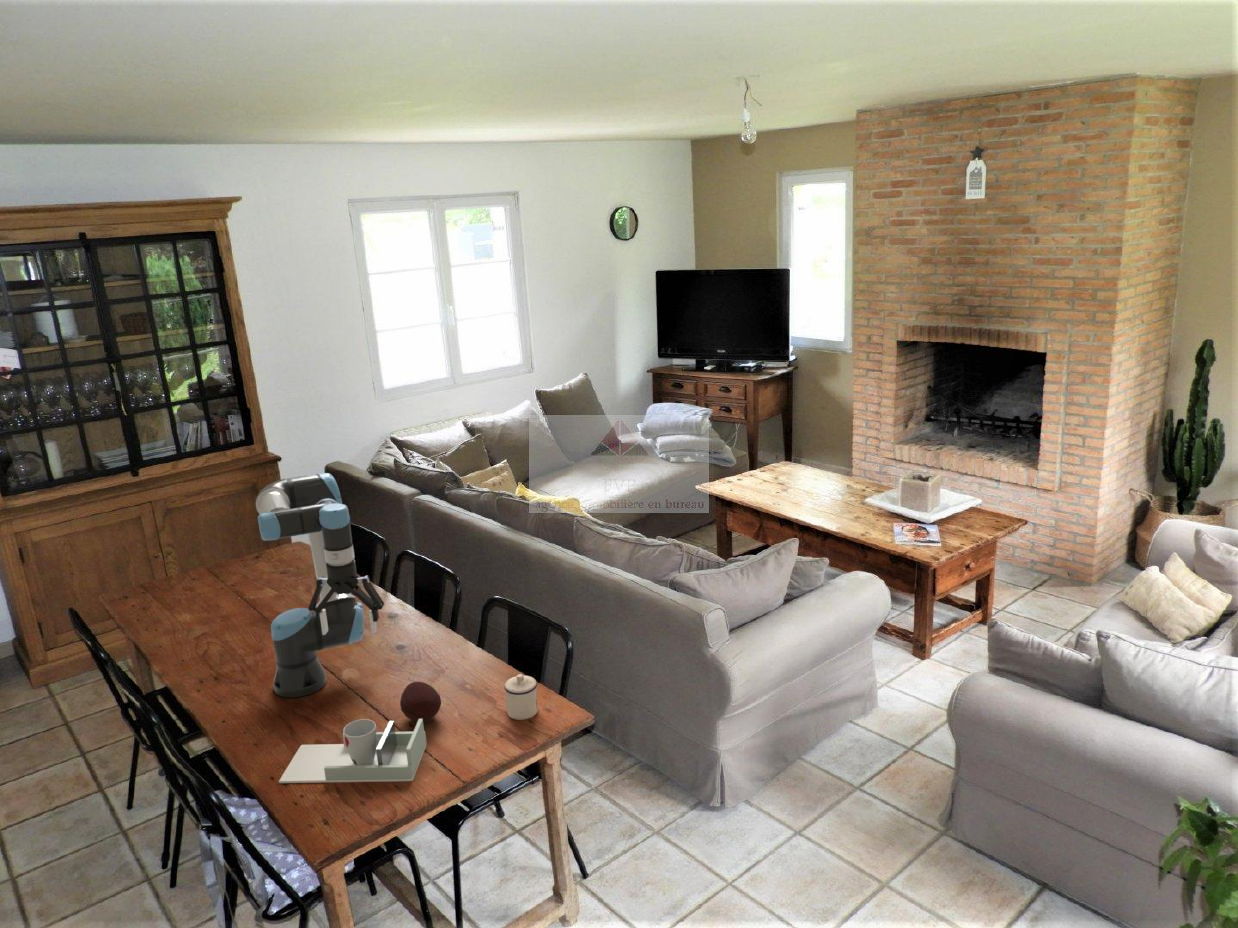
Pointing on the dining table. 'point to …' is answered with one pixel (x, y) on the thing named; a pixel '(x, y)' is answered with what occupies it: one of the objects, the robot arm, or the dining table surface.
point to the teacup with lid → (521, 697)
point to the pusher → (387, 745)
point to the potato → (420, 702)
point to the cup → (361, 741)
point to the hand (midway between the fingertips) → (349, 632)
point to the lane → (339, 767)
